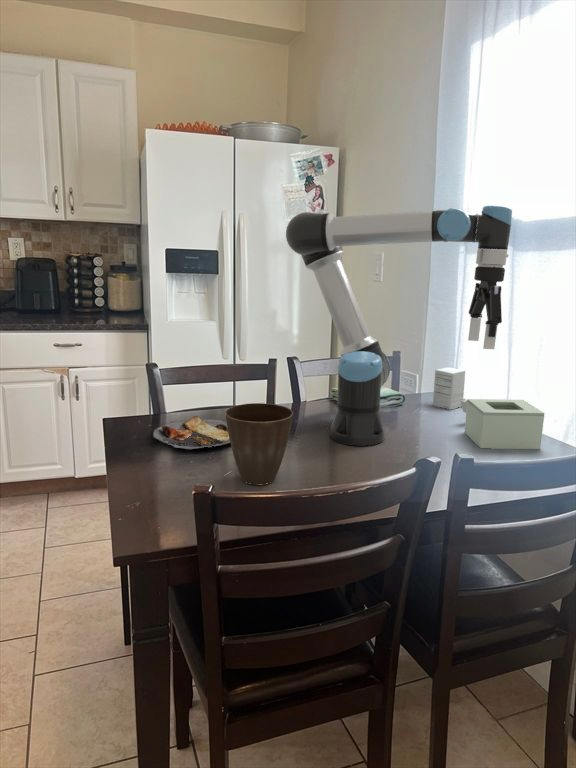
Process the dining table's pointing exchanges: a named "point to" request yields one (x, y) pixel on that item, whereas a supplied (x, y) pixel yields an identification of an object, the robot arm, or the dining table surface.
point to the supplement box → (448, 388)
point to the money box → (504, 424)
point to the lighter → (464, 404)
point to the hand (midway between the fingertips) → (480, 344)
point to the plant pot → (258, 439)
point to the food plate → (195, 424)
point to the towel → (381, 397)
